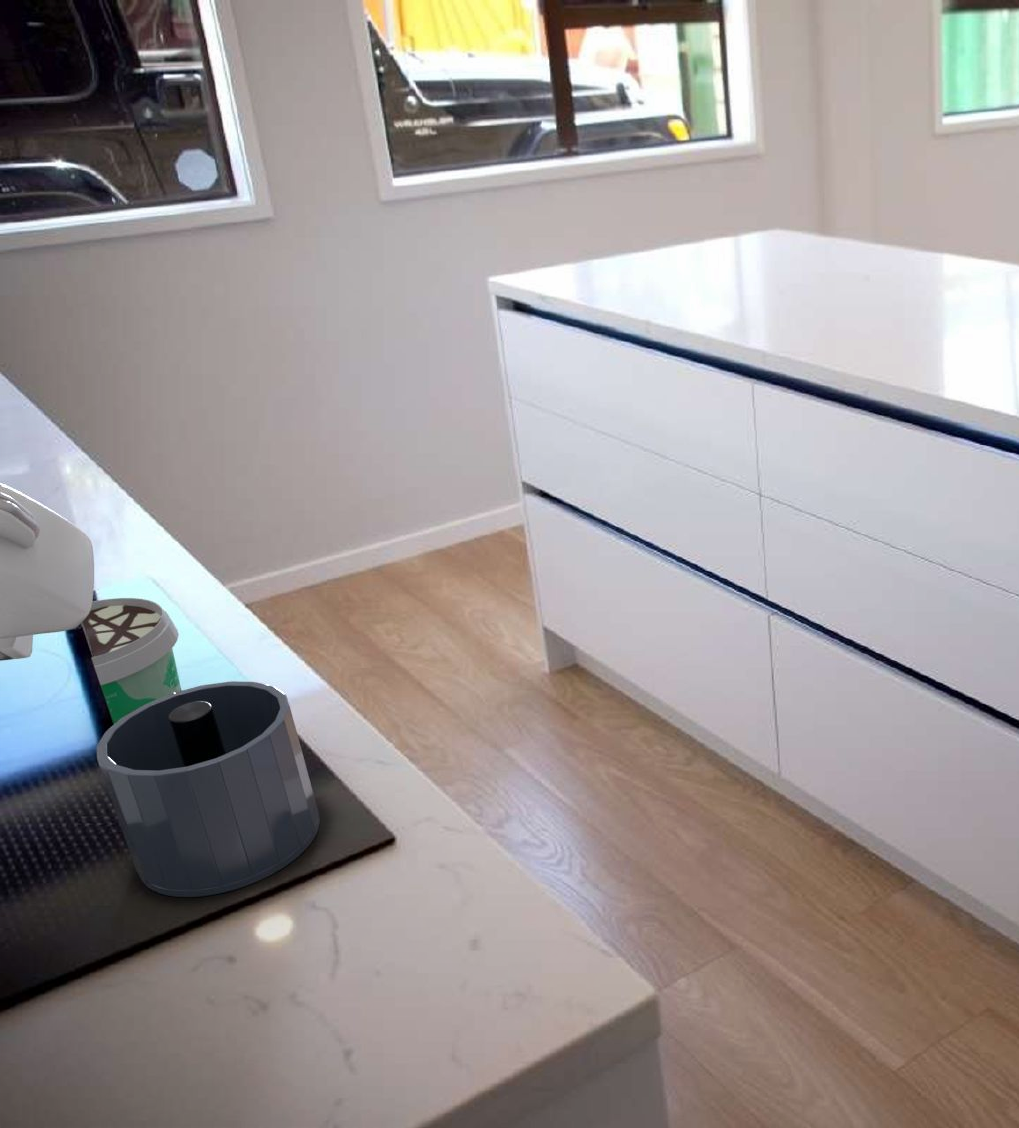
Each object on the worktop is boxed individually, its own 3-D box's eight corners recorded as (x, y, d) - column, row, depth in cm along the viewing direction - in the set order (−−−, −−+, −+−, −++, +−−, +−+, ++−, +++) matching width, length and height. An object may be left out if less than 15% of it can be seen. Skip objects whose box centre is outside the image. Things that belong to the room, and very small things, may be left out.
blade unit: (149, 868, 86) (105, 740, 81) (207, 804, 92) (169, 683, 88) (251, 869, 85) (212, 741, 81) (302, 805, 91) (269, 683, 87)
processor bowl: (99, 873, 86) (56, 754, 82) (239, 781, 96) (205, 669, 92) (222, 915, 82) (182, 790, 78) (355, 813, 91) (326, 698, 87)
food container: (218, 748, 100) (184, 635, 96) (131, 776, 97) (92, 661, 93) (190, 686, 109) (158, 581, 105) (110, 710, 106) (74, 602, 102)
